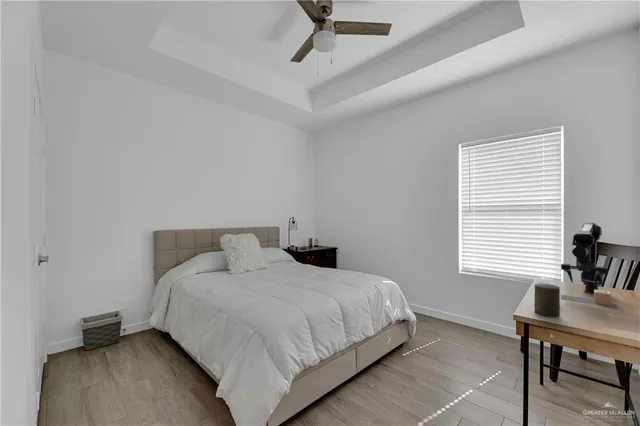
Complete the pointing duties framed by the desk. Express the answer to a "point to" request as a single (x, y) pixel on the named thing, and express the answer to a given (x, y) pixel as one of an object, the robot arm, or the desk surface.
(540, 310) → the pillar candle
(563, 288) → the desk surface
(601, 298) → the cube
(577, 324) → the desk surface
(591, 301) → the mat
